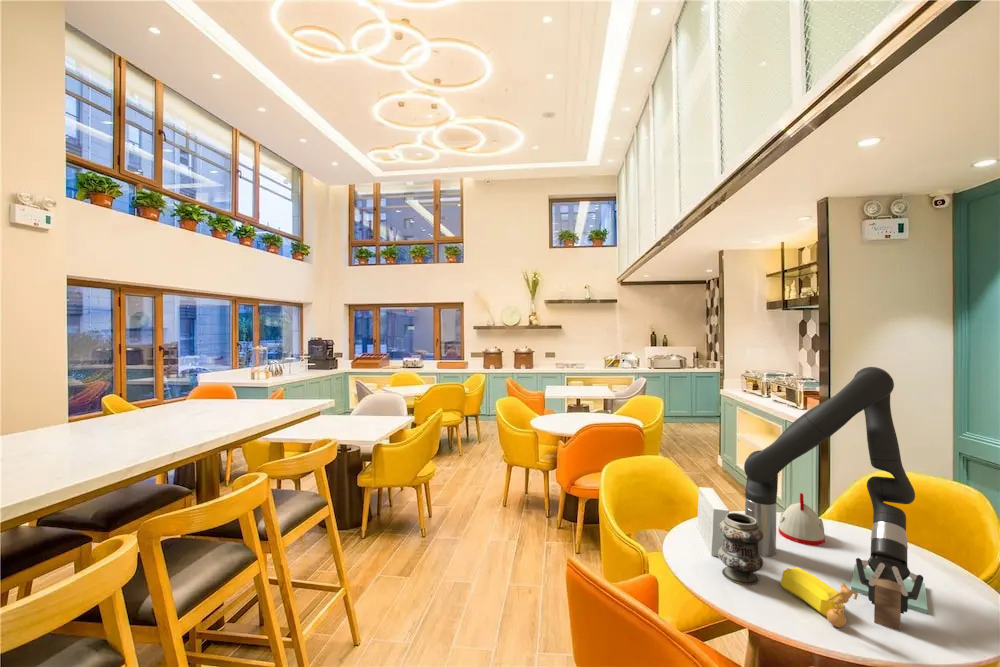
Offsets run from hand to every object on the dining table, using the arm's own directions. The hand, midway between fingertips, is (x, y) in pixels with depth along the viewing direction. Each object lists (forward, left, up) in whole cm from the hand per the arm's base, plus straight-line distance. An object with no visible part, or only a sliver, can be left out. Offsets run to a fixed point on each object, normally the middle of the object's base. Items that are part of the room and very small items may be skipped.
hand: (887, 607), depth 114 cm
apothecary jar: (-34, 0, -5) cm, 34 cm away
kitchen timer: (-24, +43, -5) cm, 49 cm away
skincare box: (-47, +17, -5) cm, 50 cm away
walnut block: (0, +2, -5) cm, 5 cm away
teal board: (0, +21, -5) cm, 21 cm away
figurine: (-9, -9, -5) cm, 14 cm away
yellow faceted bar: (-16, 0, -5) cm, 17 cm away
